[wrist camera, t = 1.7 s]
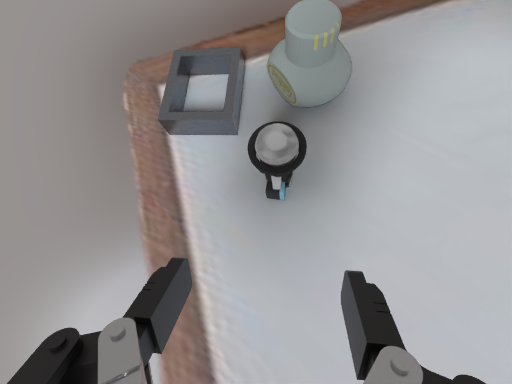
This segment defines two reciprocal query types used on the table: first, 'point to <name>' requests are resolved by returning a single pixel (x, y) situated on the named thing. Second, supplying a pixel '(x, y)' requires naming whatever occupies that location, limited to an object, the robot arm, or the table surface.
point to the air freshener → (310, 55)
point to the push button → (277, 155)
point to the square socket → (178, 82)
